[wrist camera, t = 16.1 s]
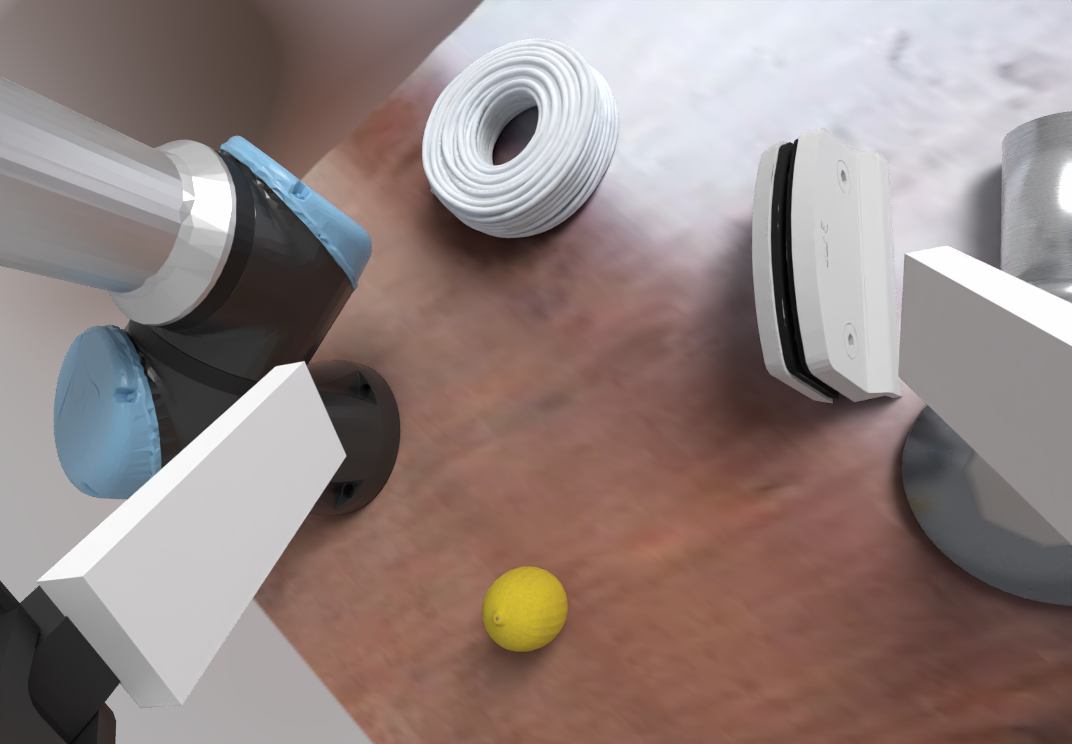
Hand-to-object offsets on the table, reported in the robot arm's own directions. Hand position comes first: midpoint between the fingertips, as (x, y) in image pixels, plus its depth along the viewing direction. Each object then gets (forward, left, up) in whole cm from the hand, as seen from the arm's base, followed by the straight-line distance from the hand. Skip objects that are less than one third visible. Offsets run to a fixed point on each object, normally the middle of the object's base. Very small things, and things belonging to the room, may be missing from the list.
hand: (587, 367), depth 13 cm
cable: (-22, +25, -31) cm, 45 cm away
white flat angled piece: (+3, +12, -31) cm, 33 cm away
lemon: (-14, -13, -31) cm, 36 cm away
